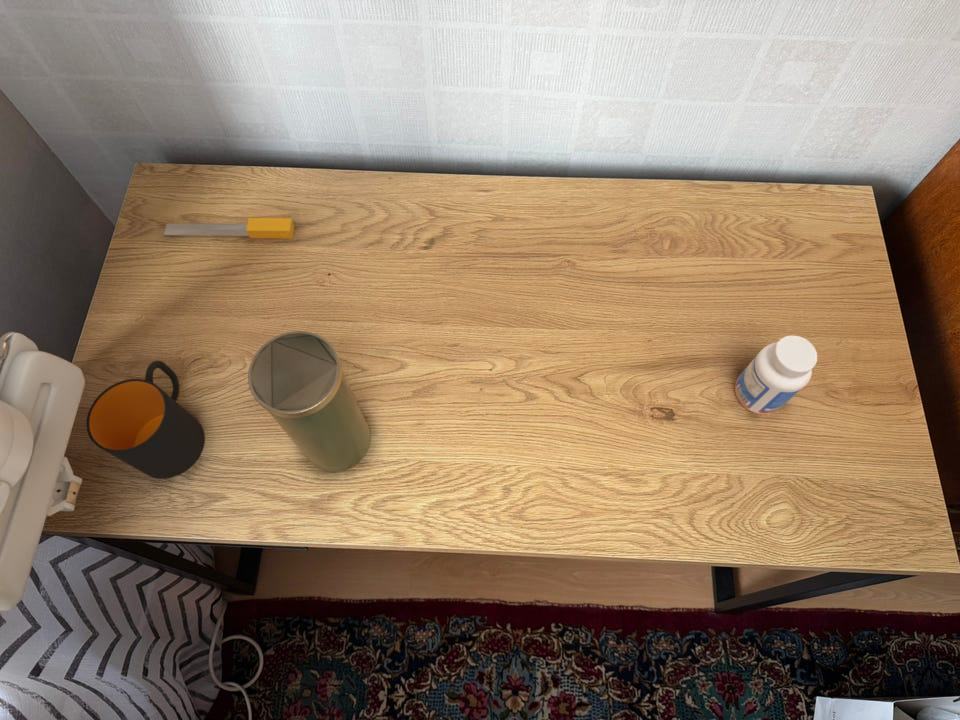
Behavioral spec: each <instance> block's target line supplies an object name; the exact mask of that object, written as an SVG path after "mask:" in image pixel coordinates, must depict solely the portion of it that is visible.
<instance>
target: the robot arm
mask: <svg viewBox="0 0 960 720" xmlns="http://www.w3.org/2000/svg"><path fill="white" fill-rule="evenodd" d="M85 386H86V378H85V376H84V373H83V370H82V369H81V368H80V367H79V366H77V365H75V364H74V363H72V362H70V361H69V360H66V359H64V358H62V357H60V356H57V355H54V354H52V353H50V352H47V351H42V350H39V348H38V346H37V344H36V343H35V342H34V341H33V340H31V339H30V338H29V337H27V336H26V335H24V334H22V333H20V332H17V331H8V332H6V333H4V334H3V335H2V336H1V337H0V612H6V611H10V610H12V609H13V608H14V607H16V606H17V604H19V603H20V602H21V601H22V600H23V598H24V595H25V592H26V588H27V584H28V582H29V577H30V575H31V571H32V567H33V564H34V561H35V557H36V554H37V551H38V547H39V543H40V539H41V537H42V533H43V530H44V526H45V524H46V523H45V522H46V519H47V517H51V516H53V515H54V514H56V513H58V512H74V511H75V508H76V503H77V500H78V495H79V493H80V489H81V486H82V483H83V478H81V477H79V476H77V475H75V474H74V471H73V469H72V466H71V464H70V462H69V460H68V457H66V456H65V455H66V452H67V451H66V450H67V449H68V448H67V447H68V444H69V441H70V438H71V434H72V430H73V426H74V423H75V420H76V416H77V413H78V410H79V406H80V404H81V399H82V396H83V393H84V389H85Z"/></svg>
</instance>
